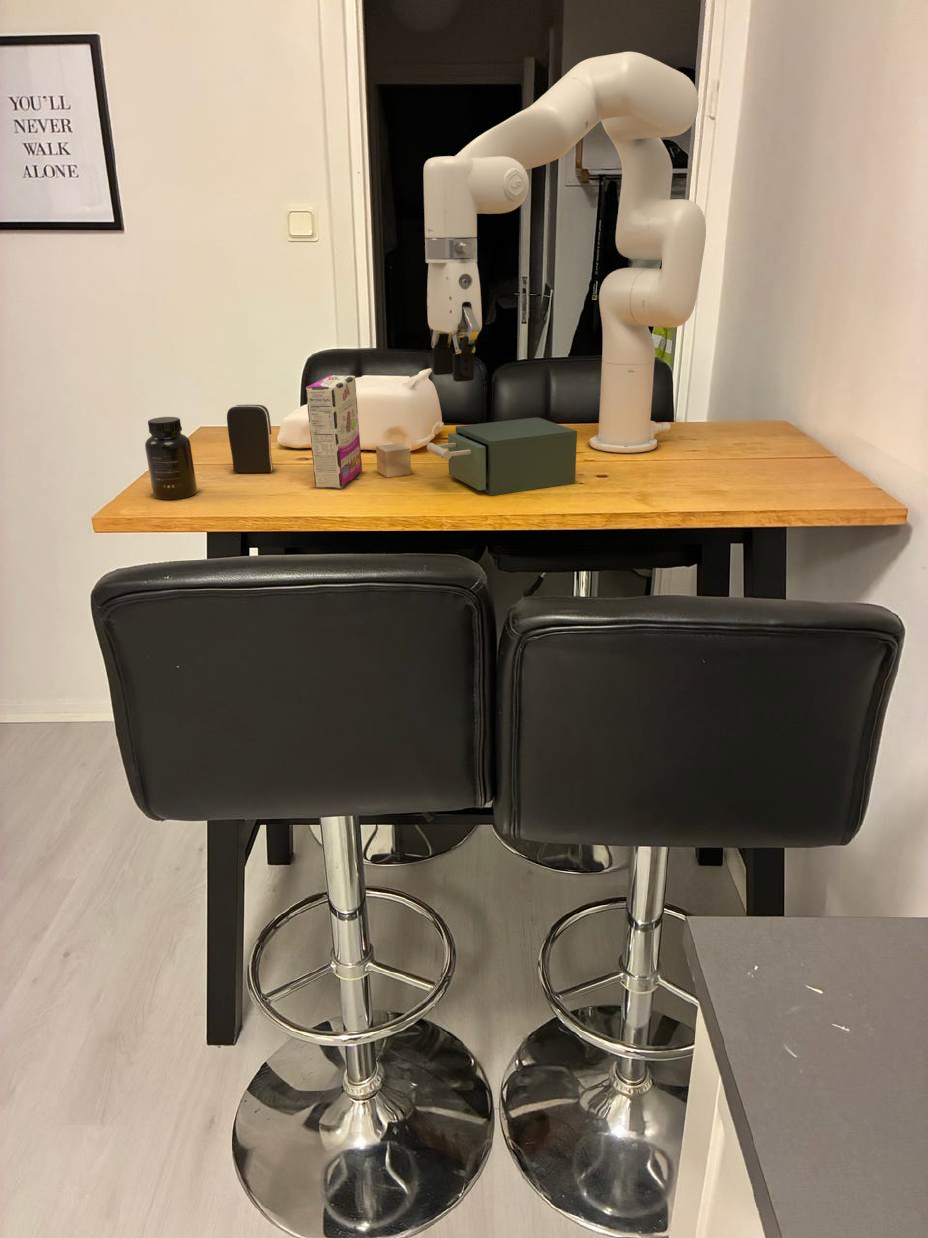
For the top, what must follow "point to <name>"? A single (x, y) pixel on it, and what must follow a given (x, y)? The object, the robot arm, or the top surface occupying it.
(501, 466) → the cabinet
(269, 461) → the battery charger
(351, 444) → the candy bar box
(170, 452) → the supplement bottle
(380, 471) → the cream box
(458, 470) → the drawer
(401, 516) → the top surface
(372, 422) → the white rounded body
